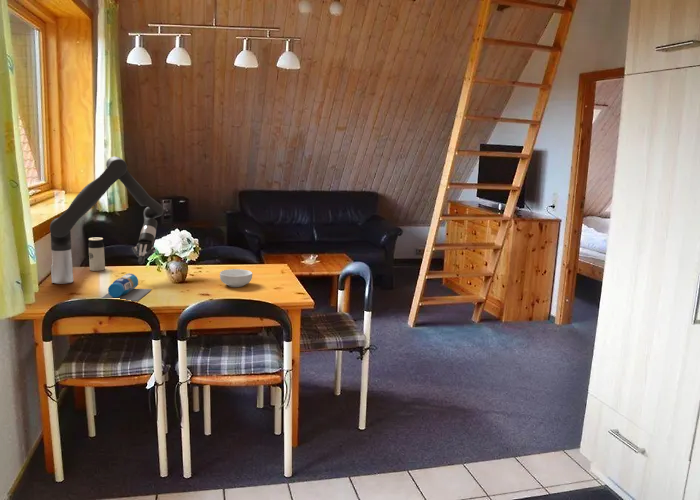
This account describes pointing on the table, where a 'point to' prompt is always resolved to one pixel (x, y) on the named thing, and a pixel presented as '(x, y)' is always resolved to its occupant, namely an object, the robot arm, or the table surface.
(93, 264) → the travel mug
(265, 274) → the table surface
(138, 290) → the mat
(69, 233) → the robot arm
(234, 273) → the cereal bowl
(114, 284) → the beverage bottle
